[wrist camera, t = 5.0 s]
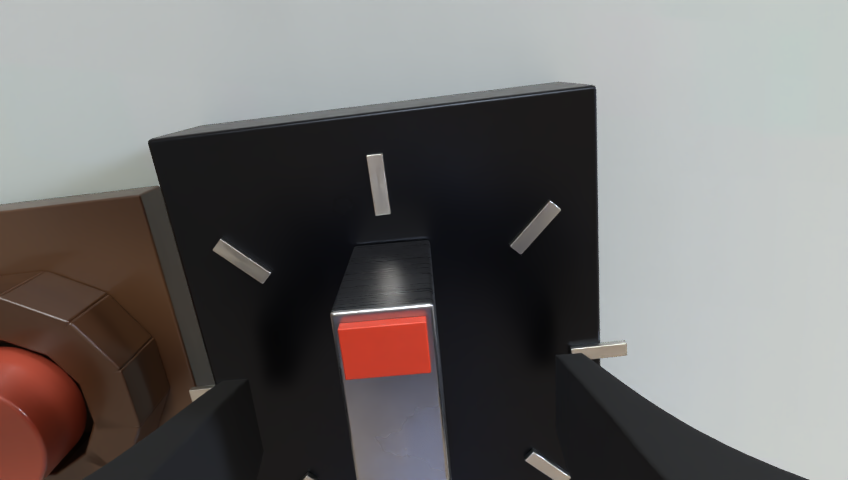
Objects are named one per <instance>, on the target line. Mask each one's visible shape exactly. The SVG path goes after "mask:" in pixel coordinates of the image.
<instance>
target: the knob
mask: <svg viewBox="0 0 848 480" xmlns="http://www.w3.org/2000/svg"><path fill="white" fill-rule="evenodd" d="M330 318H331V324H332V330H333V336H334V343H335V349H336V355H337V361H338V367H339V373H340V380H341V386H342V392H343V398H344V404H345V410H346V417H347V423H348V429H349V435H350V441H351V447H352V454H353V460H354V466H355V472H356V478H357V480H452V478H451V467H450V456H449V445H448V435H447V424H446V413H445V402H444V391H443V380H442V369H441V359H440V348H439V337H438V326H437V315H436V304H435V293H434V283H433V272H432V261H431V250H430V242H429V241H428V240H419V241H408V242H397V243H386V244H375V245H363V246H356V247H354V249H353V252H352V255H351V258H350V260H349V263H348V266H347V269H346V271H345V274H344V277H343V280H342V283H341V285H340V288H339V291H338V294H337V296H336V299H335V302H334V305H333V308H332V310H331V313H330Z"/></svg>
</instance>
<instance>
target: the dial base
mask: <svg viewBox="0 0 848 480" xmlns="http://www.w3.org/2000/svg"><path fill="white" fill-rule="evenodd" d="M148 145H149V148H150V152H151V156H152V159H153V163H154V166H155V170H156V173H157V177H158V181H159V184H160V188H161V191H162V195H163V198H164V202H165V206H166V209H167V213H168V216H169V220H170V223H171V227H172V231H173V234H174V238H175V241H176V245H177V248H178V252H179V256H180V259H181V263H182V266H183V270H184V273H185V277H186V281H187V284H188V288H189V291H190V295H191V298H192V302H193V306H194V309H195V313H196V316H197V320H198V323H199V327H200V331H201V334H202V338H203V341H204V345H205V349H206V352H207V356H208V359H209V363H210V366H211V370H212V374H213V377H214V381H215V384H216V385H217V384H218V383H220V382H222V381H227V380H240V379H248V380H249V385H250V389H251V394H252V399H253V404H254V408H255V413H256V418H257V422H258V427H259V432H260V436H261V441H262V446H263V450H264V452H263V456H262V460H261V464H260V469H259V473H258V476H257V480H357V478H356V472H355V466H354V460H353V454H352V447H351V441H350V435H349V429H348V423H347V417H346V410H345V404H344V398H343V392H342V386H341V380H340V373H339V367H338V361H337V355H336V349H335V343H334V336H333V330H332V324H331V318H330V313H331V310H332V308H333V305H334V302H335V299H336V296H337V294H338V291H339V288H340V285H341V283H342V280H343V277H344V274H345V271H346V269H347V266H348V263H349V260H350V258H351V255H352V252H353V249H354V247H356V246H363V245H375V244H386V243H397V242H408V241H419V240H428V241H429V242H430V250H431V261H432V272H433V283H434V293H435V304H436V315H437V326H438V337H439V348H440V359H441V369H442V380H443V391H444V402H445V413H446V424H447V435H448V445H449V456H450V467H451V478H452V480H572V479H571V477H570V474H569V472H568V470H567V466H566V463H565V460H564V456H563V453H562V449H561V446H560V442H559V439H558V435H557V431H556V361H555V355H562V354H575V353H583V354H584V355H586V356H587V357H589V358H590V359H591V360H593V361H594V362H595V363H597V364H598V365H599V366H600V358H608V357H617V356H626V355H627V343H626V341H625V340H623V341H614V342H605V343H600V315H599V246H598V177H597V108H596V87H595V86H593V85H586V84H576V83H565V82H554V83H546V84H538V85H529V86H521V87H513V88H505V89H497V90H488V91H480V92H472V93H464V94H456V95H448V96H439V97H431V98H423V99H415V100H407V101H398V102H390V103H382V104H374V105H366V106H358V107H349V108H341V109H333V110H325V111H317V112H308V113H300V114H292V115H284V116H276V117H268V118H259V119H251V120H243V121H235V122H227V123H218V124H210V125H202V126H198V127H194V128H190V129H186V130H183V131H179V132H175V133H171V134H167V135H164V136H160V137H156V138H152V139H150V140H149V141H148ZM214 386H215V385H209V386H200V387H191V389H190V390H189V393H190V396H191V399H192V402H193V401H195V400H196V399H197V398H199V397H200V396H201V395H203V394H204V393H205V392H207V391H208V390H209V389H211V388H212V387H214Z"/></svg>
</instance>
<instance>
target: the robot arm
mask: <svg viewBox="0 0 848 480" xmlns="http://www.w3.org/2000/svg"><path fill="white" fill-rule="evenodd" d="M555 361H556V431H557V435H558V439H559V442H560V446H561V449H562V453H563V456H564V460H565V463H566V466H567V470H568V472H569V474H570V477H571V479H572V480H808V479H806V478H803V477H800V476H798V475H795V474H792V473H790V472H787V471H785V470H782V469H779V468H777V467H775V466H772V465H770V464H768V463H765V462H763V461H761V460H758V459H756V458H754V457H751V456H749V455H747V454H744V453H742V452H740V451H738V450H736V449H734V448H731V447H729V446H727V445H725V444H723V443H721V442H719V441H717V440H716V439H714V438H712V437H710V436H708V435H706V434H704V433H702V432H700V431H698V430H696V429H694V428H693V427H691V426H689V425H687V424H686V423H684V422H682V421H680V420H679V419H677V418H675V417H674V416H672V415H671V414H669V413H667V412H666V411H664V410H662V409H661V408H659V407H658V406H656V405H655V404H653V403H652V402H650V401H648V400H647V399H645V398H644V397H642V396H641V395H640V394H638V393H637V392H635V391H634V390H632V389H631V388H630V387H628V386H627V385H625V384H624V383H623V382H621V381H620V380H618V379H617V378H616V377H614V376H613V375H612V374H610V373H609V372H607V371H606V370H605V369H603V368H602V367H601V366H599V365H598V364H597V363H595V362H594V361H593V360H591V359H590V358H589V357H587V356H586V355H584V354H583V353H575V354H562V355H555ZM263 452H264V450H263V446H262V441H261V436H260V432H259V427H258V422H257V418H256V413H255V408H254V404H253V399H252V394H251V389H250V385H249V380H248V379H240V380H227V381H222V382H220V383H218V384H217V385H215V386H214V387H212V388H211V389H209V390H208V391H207V392H205V393H204V394H203V395H201V396H200V397H199V398H197V399H196V400H195V401H193V402H192V403H191V404H189V405H188V406H187V407H185V408H184V409H183V410H181V411H180V412H179V413H177V414H176V415H175V416H173V417H172V418H171V419H169V420H168V421H167V422H165V423H164V424H163V425H161V426H160V427H159V428H158V429H156V430H155V431H153V432H152V433H151V434H149V435H148V436H146V437H145V438H144V439H142V440H141V441H139V442H138V443H136V444H135V445H134V446H132V447H131V448H129V449H128V450H126V451H125V452H123V453H122V454H121V455H119V456H118V457H116V458H115V459H113V460H112V461H110V462H109V463H107V464H106V465H104V466H103V467H101V468H100V469H98V470H96V471H95V472H93V473H92V474H90V475H89V476H87V477H85V478H84V479H82V480H257V476H258V473H259V469H260V464H261V460H262V456H263Z"/></svg>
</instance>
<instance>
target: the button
mask: <svg viewBox="0 0 848 480" xmlns="http://www.w3.org/2000/svg"><path fill="white" fill-rule="evenodd" d="M86 421H87V409H86V404H85V400H84V397H83V395H82V393H81V391H80V389H79V387H78V386H77V384H76V383H75V381H74V380H73V379H72V378H71V376H70V375H69V374H67V373H66V372H65V371H64V370H63V369H62V368H61V367H60V366H59V365H57V364H56V363H54V362H53V361H51V360H50V359H48V358H46V357H44V356H42V355H40V354H38V353H35V352H33V351H29V350H26V349H22V348H17V347H7V346H0V480H44V479H45V478H46V477H47V476H48V475H49V474H50V473H51V471H52V470H53V469H54V468H55V467H56V466H57V465H58V464H59V463H60V462H61V460H62V459H63V458H64V457H65V456H66V455H67V454H68V453H69V452H70V451H71V450H72V448H73V447H74V446H75V445H76V444H77V443H78V441H79V440H80V438H81V437H82V435H83V433H84V430H85V427H86Z"/></svg>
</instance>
